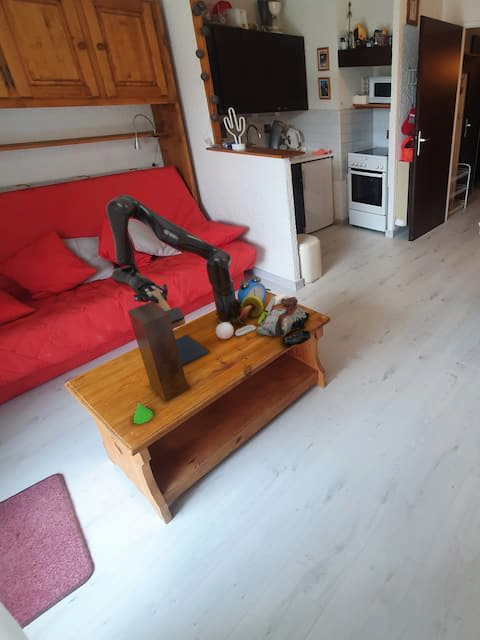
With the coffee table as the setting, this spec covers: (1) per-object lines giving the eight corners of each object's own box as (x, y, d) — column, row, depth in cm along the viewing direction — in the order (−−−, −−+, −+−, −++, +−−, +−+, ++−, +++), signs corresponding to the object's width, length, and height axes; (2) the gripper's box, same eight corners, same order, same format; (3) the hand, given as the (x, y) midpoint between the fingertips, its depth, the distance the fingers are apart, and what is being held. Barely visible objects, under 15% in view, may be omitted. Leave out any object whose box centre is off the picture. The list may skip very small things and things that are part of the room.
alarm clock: (246, 313, 184) (242, 285, 177) (238, 309, 187) (234, 282, 180) (267, 302, 193) (264, 276, 186) (259, 299, 196) (256, 272, 190)
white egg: (217, 320, 160) (219, 319, 167) (212, 337, 159) (214, 336, 166) (241, 326, 162) (242, 325, 170) (236, 343, 162) (237, 341, 169)
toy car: (282, 344, 158) (285, 351, 160) (309, 335, 159) (312, 341, 161) (282, 336, 163) (285, 343, 165) (308, 327, 164) (311, 334, 166)
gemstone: (147, 407, 129) (142, 394, 126) (157, 415, 126) (152, 401, 123) (129, 418, 125) (124, 405, 122) (139, 426, 122) (134, 413, 119)
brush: (161, 290, 154) (162, 283, 150) (185, 323, 149) (186, 316, 146) (146, 296, 150) (146, 288, 146) (169, 330, 145) (170, 323, 141)
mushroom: (226, 299, 168) (241, 293, 182) (227, 327, 170) (241, 318, 184) (253, 301, 166) (265, 294, 181) (253, 328, 168) (266, 320, 183)
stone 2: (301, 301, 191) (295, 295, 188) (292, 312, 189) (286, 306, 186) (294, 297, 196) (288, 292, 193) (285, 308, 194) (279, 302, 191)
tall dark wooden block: (172, 375, 144) (152, 301, 130) (188, 389, 137) (169, 313, 123) (150, 386, 138) (127, 310, 124) (166, 402, 131) (143, 323, 117)
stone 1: (291, 311, 184) (271, 309, 185) (290, 305, 182) (271, 303, 184) (275, 340, 165) (254, 337, 167) (274, 334, 164) (252, 331, 165)
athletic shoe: (283, 314, 154) (302, 337, 156) (301, 294, 177) (317, 314, 179) (261, 330, 157) (279, 352, 159) (282, 308, 181) (297, 327, 183)
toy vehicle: (273, 301, 189) (268, 299, 191) (273, 306, 190) (268, 303, 192) (292, 293, 197) (287, 290, 199) (292, 297, 198) (287, 295, 200)
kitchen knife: (278, 298, 193) (272, 296, 193) (278, 296, 192) (273, 294, 192) (262, 326, 175) (256, 324, 174) (263, 324, 174) (256, 322, 174)
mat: (186, 336, 166) (186, 334, 166) (208, 353, 156) (208, 351, 155) (159, 349, 158) (158, 347, 158) (180, 367, 148) (179, 365, 147)
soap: (237, 338, 166) (237, 336, 166) (232, 332, 169) (232, 331, 168) (257, 329, 172) (257, 327, 172) (252, 324, 175) (252, 322, 174)
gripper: (122, 283, 152) (140, 298, 142) (157, 272, 162) (177, 285, 152) (126, 300, 155) (145, 315, 145) (161, 288, 165) (180, 301, 155)
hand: (161, 299), depth 149 cm, fingers closed on brush, 2 cm apart
